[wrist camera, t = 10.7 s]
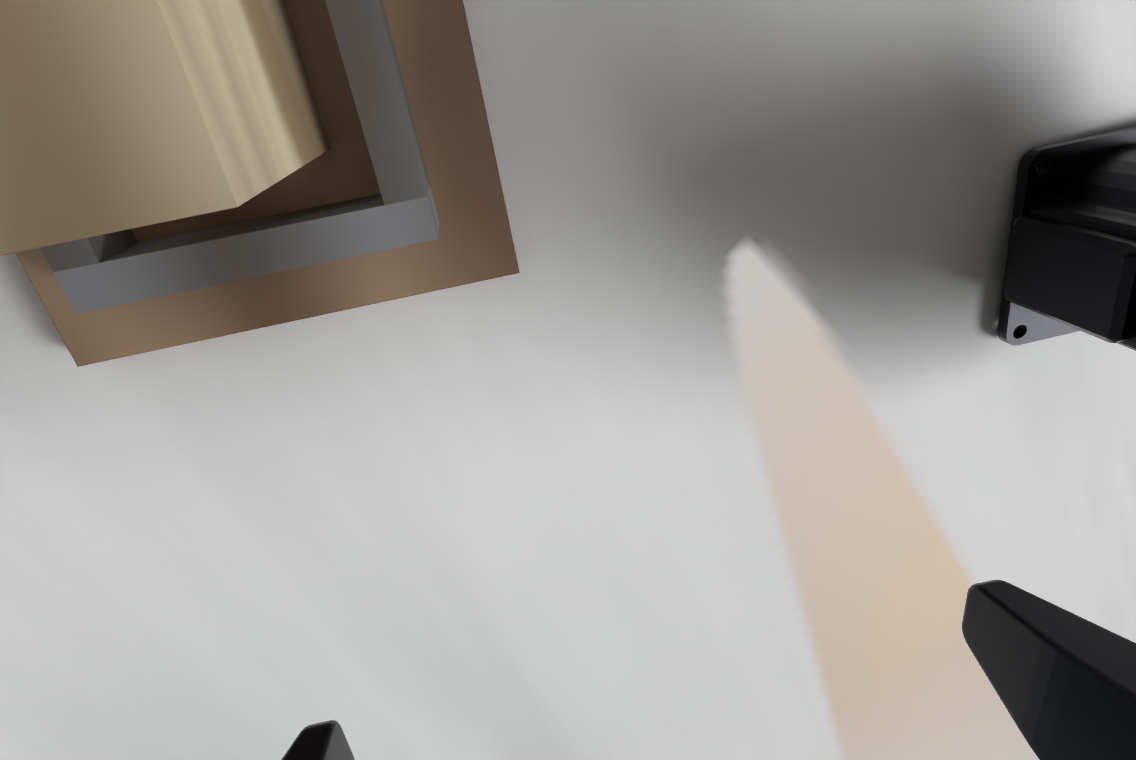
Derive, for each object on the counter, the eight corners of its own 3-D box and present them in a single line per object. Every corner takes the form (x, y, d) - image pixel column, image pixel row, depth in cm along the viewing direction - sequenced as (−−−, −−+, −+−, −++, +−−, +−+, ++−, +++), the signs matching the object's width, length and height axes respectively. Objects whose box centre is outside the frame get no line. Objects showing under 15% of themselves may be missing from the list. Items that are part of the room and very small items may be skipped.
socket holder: (403, -278, 14) (391, -361, 11) (516, 263, 19) (527, 294, 17) (-192, -189, 13) (-356, -256, 11) (95, 352, 18) (35, 399, 16)
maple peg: (271, -39, 15) (98, -147, 7) (330, 148, 16) (237, 206, 9) (86, -6, 14) (-278, -85, 7) (166, 181, 16) (-61, 267, 9)
